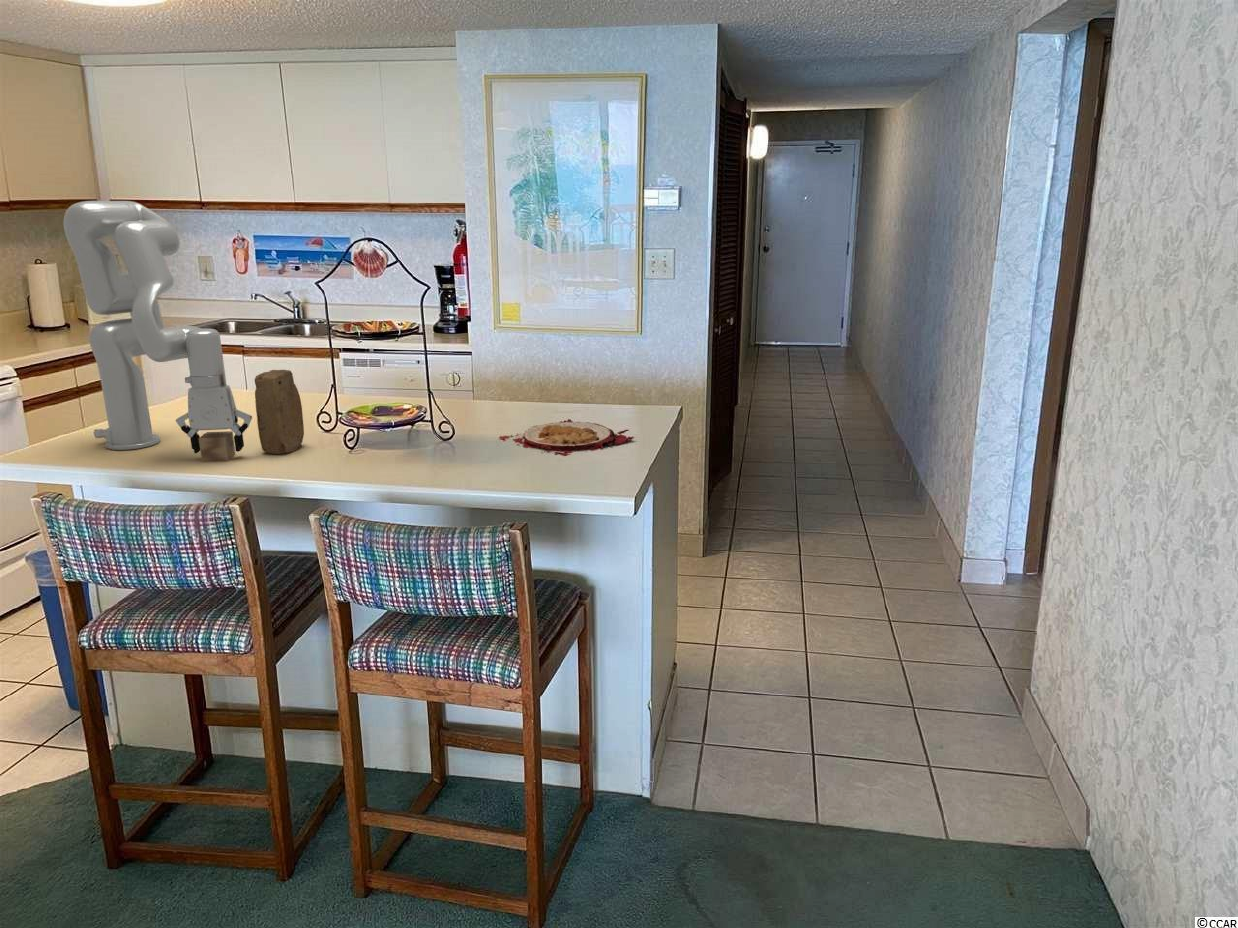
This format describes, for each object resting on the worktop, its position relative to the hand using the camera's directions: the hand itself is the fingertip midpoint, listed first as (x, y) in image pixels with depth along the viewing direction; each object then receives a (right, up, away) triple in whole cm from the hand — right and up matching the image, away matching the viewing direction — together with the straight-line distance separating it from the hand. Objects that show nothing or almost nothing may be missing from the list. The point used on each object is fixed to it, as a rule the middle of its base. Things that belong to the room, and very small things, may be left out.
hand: (218, 451), depth 215 cm
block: (+13, 0, +8) cm, 15 cm away
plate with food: (+83, +2, +17) cm, 85 cm away
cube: (0, -2, +1) cm, 2 cm away
